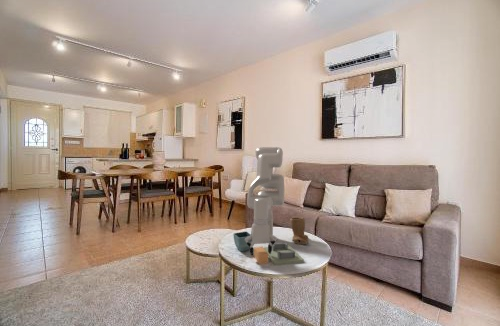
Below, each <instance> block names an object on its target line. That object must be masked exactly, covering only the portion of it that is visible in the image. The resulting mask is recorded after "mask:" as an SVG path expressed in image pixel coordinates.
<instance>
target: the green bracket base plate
mask: <svg viewBox="0 0 500 326" xmlns="http://www.w3.org/2000/svg"><path fill="white" fill-rule="evenodd" d="M263 248H264V249H265V250H266V252H267V253H268V246H264V247H263ZM268 259H269V260H270V261H271V262H272V264H273V266H280V265H291V264H301V263H304V262H305V260H304V258H303V257H302V256H301V255H300V253H298V252H297V251H296V249H294V248H293V247H292V246H291V245H288V243H287V242H278V243H276V242H275V243H274V244H273V246H272V252H271V254H269V253H268Z"/></svg>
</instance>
